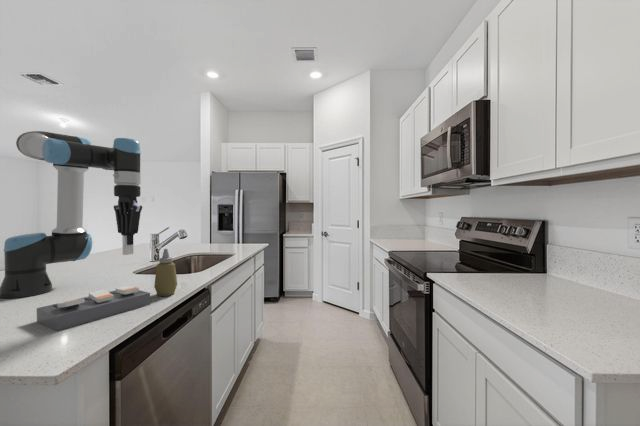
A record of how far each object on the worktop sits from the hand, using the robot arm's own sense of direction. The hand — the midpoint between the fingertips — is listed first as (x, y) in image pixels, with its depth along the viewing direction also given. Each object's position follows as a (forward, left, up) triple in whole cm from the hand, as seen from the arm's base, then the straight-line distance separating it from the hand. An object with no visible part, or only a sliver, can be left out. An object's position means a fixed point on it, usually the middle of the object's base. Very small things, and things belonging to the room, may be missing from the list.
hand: (128, 254), depth 100 cm
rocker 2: (-2, +1, -13) cm, 13 cm away
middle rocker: (-2, -7, -13) cm, 15 cm away
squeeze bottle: (-3, +16, -19) cm, 25 cm away
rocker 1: (-2, -15, -13) cm, 20 cm away
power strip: (-7, -7, -18) cm, 21 cm away
